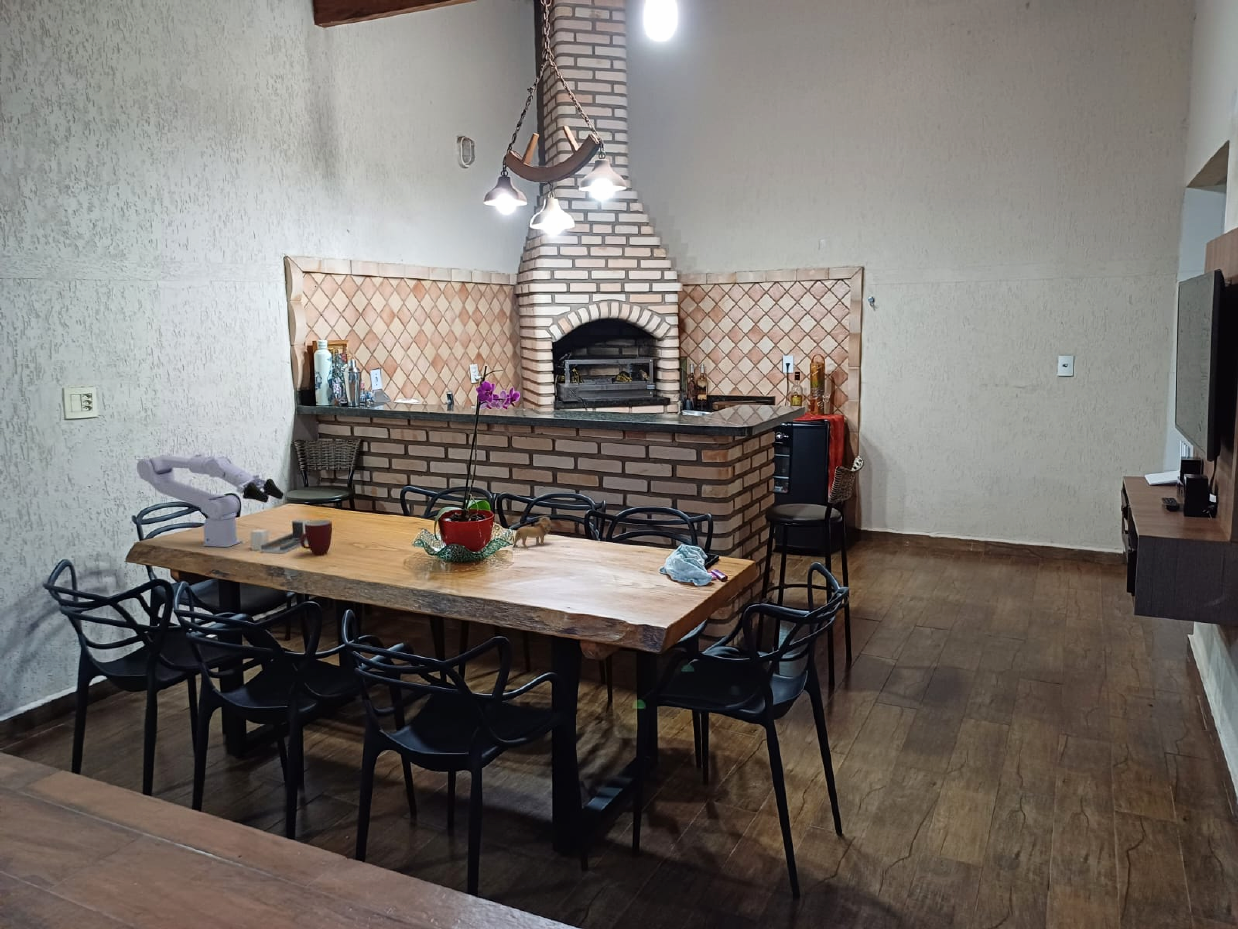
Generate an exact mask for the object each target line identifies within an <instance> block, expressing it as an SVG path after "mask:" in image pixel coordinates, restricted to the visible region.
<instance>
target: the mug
mask: <svg viewBox="0 0 1238 929" xmlns="http://www.w3.org/2000/svg"><path fill="white" fill-rule="evenodd" d="M332 533H333V524H332V521H331V520H328V519H318V520H317V519H316V520H309V522H306V523H305V534H303V535H302V537H301V540H300V543H301V546H300V547H301V548H303V549H305V550H310V552H311V553H312V554H313V555H314V556H323V555H326V554H327V553H328V551H329V550H330V547H331V542H332ZM305 538H307V542H308V543H307V545H308V546H307V545H306V544H305V543H304V540H305Z"/></svg>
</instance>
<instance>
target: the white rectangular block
mask: <svg viewBox="0 0 1238 929" xmlns="http://www.w3.org/2000/svg"><path fill="white" fill-rule="evenodd" d="M269 538H270V537H269V529H258V528H257V529H254V530H252V531H250V546H251V550H252V551H261V545H264V544H266V543H269V540H270V539H269Z"/></svg>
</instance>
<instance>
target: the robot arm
mask: <svg viewBox="0 0 1238 929" xmlns="http://www.w3.org/2000/svg"><path fill="white" fill-rule="evenodd" d="M175 468H176V469H187V470H188V471H189V472H191V473H193V474H202V475H208V476H209V477H210V478H218V479H221V480H223V481H224V482H226V483H228V484H230V485H232V486H234V487H235V488H236V490H235V491H236V492H238V494H243V495H242V499H244V500H254V501H257V502H261V503H264V504H265V503H268V501H269V498H270V497H273V498H274V499H277V500H282V499H283V497H284V492H282V491H281V489H280V488H279V487H278V486H277V485H276V483H275V482H274V479H272V478H268V479H263V478H259V477H260V474H254V475H253V474H251V473H249V472H248V471H245V470H243V469H242V468H240V467H238V466H236V465H234V464H232V462H231V460H230V459H229V458H228V457H225V456H224V455H223V456H219V457H215V456H214V455H209V456H203V455H202V453H196V454H195V455H192V456H191V457H190V458H188V457H181V456H175V455H170V454H167V455H164V454H163V455H159V456H155V457H150V458H149V457H147V458H142V459H139V460H138V462H137V464H136V470H137V473H138V475H139V478H140V479H141V480H143V481H146V482H148V484H150V486H151V487H152V488H154V489H155V490H156V491H157V492H158V493H160V494H164V495H166V496H169V497H171V498H173V499H177V500H179V501H183V502H184V503H187V504H191V505H193V506H195V507H198V508H200V510H201V511H200V512H201V513H203V514H205V515H207V518H206V519H205V520H204V523H203V537H204V543H203V546H205V547H220V548H229V547H233V546H234V545H238V544H239V543H242V542H244V540H243V539H238V538H237V537H238V536H237V535H238V534H237V524H236V523H237V522H236V520H237V519H236V516H237V513H238V512H239V510H240V506H241V504H240V501H239V499H238V498H237V497H236V496H235V495H232V494H230V495H224V494H217V493H215V494H213V493H211V492H208V491H206V490H205V491H204V490H202V489H199V488H196V487H193V486H192V485H189V484H185V483H183V482H180V481H177V480H175V479H176V478H175V473H174V469H175ZM261 489H263V491H262V490H261Z"/></svg>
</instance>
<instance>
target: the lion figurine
mask: <svg viewBox="0 0 1238 929" xmlns="http://www.w3.org/2000/svg"><path fill="white" fill-rule="evenodd" d="M551 525H552V521H551V520H550V517H548V516H542V517H540V518H539V519H538V522H537V523H536V524H535V525H534V526H530V527H529V526H522V527H519V528H518V529H517V530H516V532H515V534H514V535H515V536H514V541H513V545H512V549H515V548H518V547H519V546H518V544H517V543H518V542H519V541H520V540H521V541H522V542H521V545H523V547H524V548H525V549H530V547H529V545H526V542H527V539H528V538H530V539H535V544H536V545H541V546H543V547H545V546H546V544H545V543H544V541H545V536H547V535H548V534H549V532H550V529H551Z"/></svg>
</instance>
